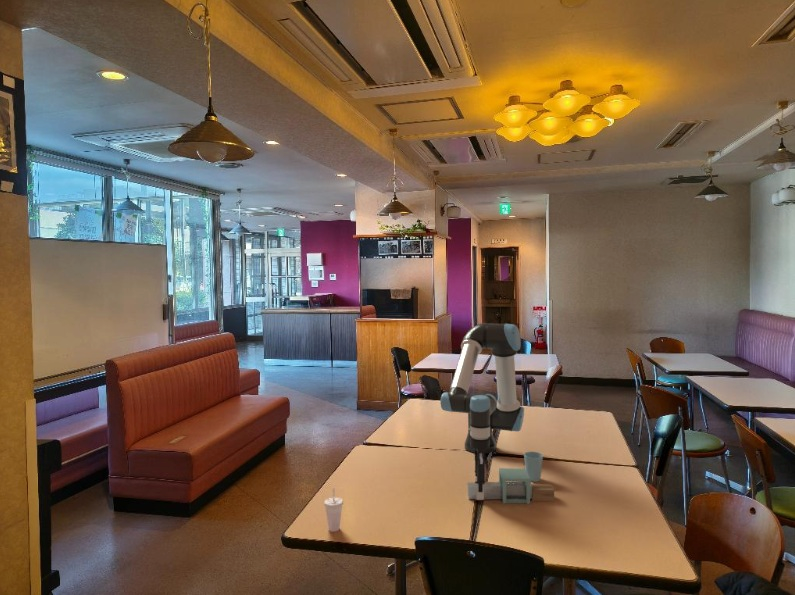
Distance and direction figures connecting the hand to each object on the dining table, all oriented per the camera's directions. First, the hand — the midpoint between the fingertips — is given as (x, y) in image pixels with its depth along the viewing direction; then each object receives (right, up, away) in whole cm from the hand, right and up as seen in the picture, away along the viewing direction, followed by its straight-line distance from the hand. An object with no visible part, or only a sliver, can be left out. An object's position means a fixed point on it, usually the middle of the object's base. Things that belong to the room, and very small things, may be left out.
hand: (479, 496), depth 200 cm
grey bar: (+8, 0, 0) cm, 8 cm away
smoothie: (-53, -2, -23) cm, 58 cm away
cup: (+25, +1, +17) cm, 30 cm away
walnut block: (+24, 0, -1) cm, 24 cm away
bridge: (+13, 0, -1) cm, 13 cm away
